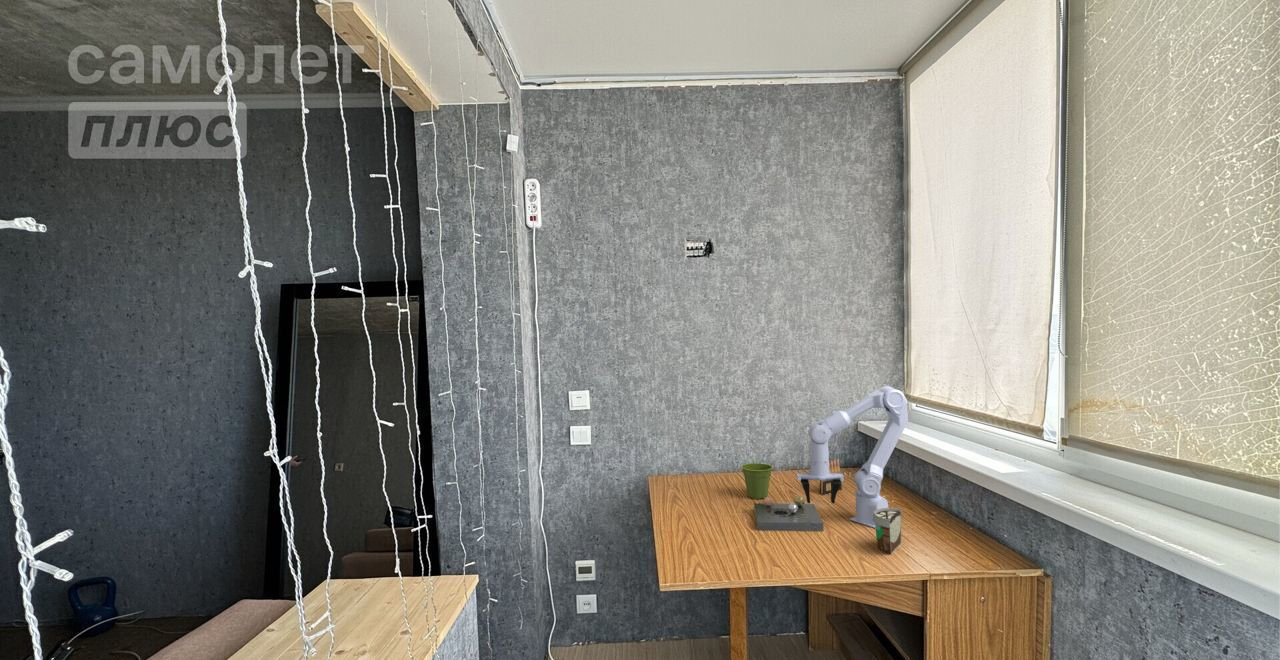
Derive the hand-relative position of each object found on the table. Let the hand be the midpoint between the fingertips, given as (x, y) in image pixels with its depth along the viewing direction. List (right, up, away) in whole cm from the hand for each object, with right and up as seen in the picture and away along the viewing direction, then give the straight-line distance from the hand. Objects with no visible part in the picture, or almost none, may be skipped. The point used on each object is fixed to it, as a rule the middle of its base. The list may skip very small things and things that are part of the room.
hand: (820, 502), depth 193 cm
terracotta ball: (-15, -2, +9) cm, 18 cm away
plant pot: (-15, -6, +28) cm, 32 cm away
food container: (+12, -6, -23) cm, 26 cm away
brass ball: (-5, -2, +8) cm, 9 cm away
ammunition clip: (+13, -5, +30) cm, 34 cm away
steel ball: (-9, -2, +1) cm, 9 cm away
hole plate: (-11, -6, +1) cm, 12 cm away
